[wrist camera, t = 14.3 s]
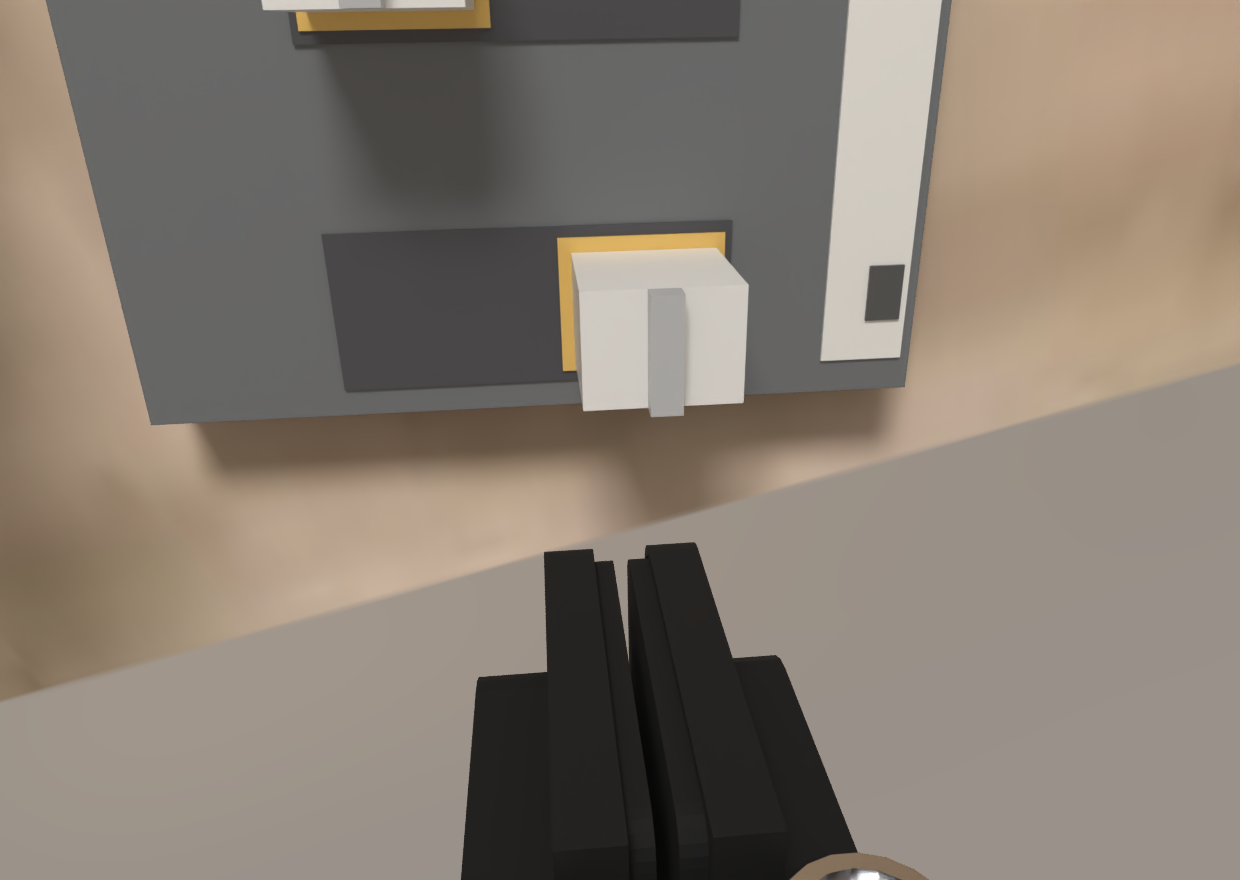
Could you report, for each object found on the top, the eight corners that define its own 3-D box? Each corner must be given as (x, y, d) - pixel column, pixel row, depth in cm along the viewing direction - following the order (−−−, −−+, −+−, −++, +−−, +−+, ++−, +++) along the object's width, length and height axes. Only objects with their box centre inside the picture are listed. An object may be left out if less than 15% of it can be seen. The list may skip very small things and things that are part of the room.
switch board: (933, -187, 24) (980, -212, 21) (875, 359, 30) (906, 389, 28) (47, -189, 22) (-12, -216, 20) (181, 392, 28) (148, 427, 26)
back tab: (716, 247, 25) (754, 291, 21) (713, 350, 26) (749, 412, 22) (570, 252, 25) (580, 298, 21) (575, 357, 26) (584, 420, 22)
